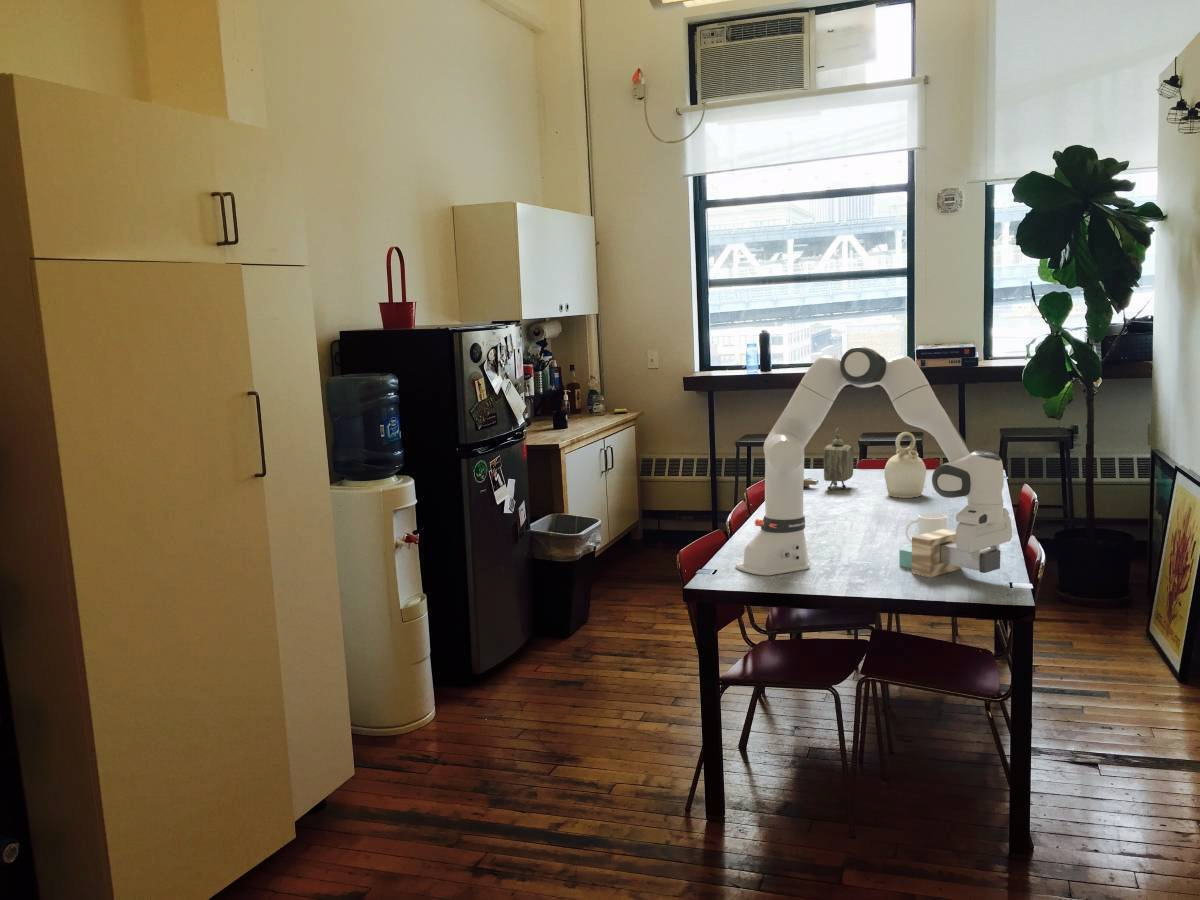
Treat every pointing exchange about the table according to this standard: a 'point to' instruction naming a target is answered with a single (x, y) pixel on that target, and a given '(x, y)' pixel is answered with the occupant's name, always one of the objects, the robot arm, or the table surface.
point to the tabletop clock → (838, 462)
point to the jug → (905, 471)
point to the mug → (929, 523)
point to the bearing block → (931, 553)
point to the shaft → (969, 558)
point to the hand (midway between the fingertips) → (984, 563)
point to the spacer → (905, 557)
